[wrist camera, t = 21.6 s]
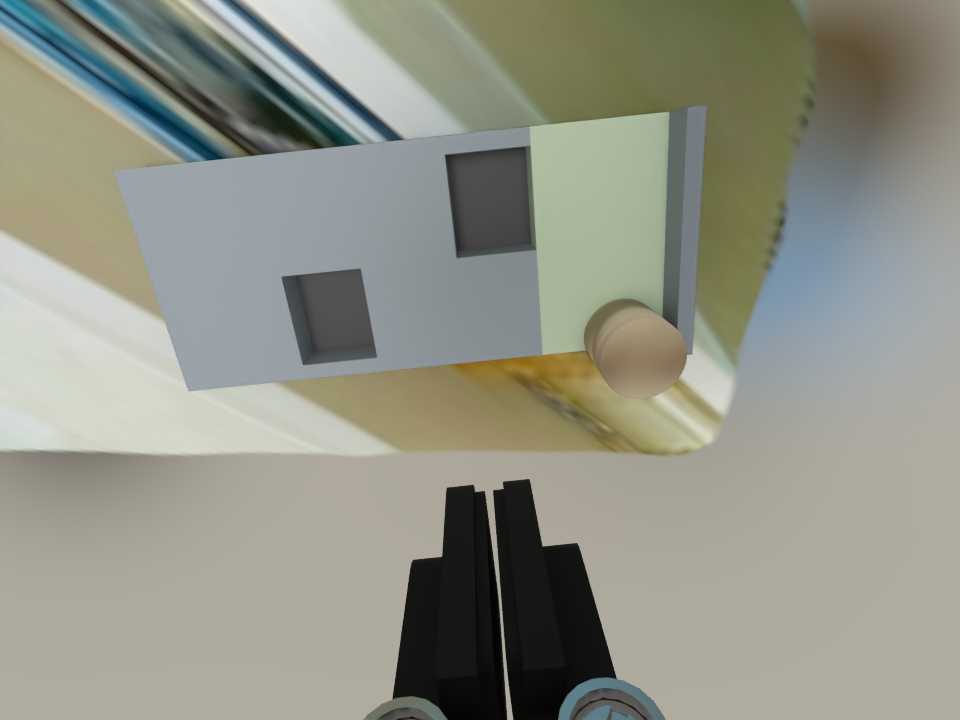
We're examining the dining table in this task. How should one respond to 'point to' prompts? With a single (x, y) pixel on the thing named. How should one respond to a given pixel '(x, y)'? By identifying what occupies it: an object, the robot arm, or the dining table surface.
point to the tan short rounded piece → (634, 348)
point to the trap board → (420, 247)
